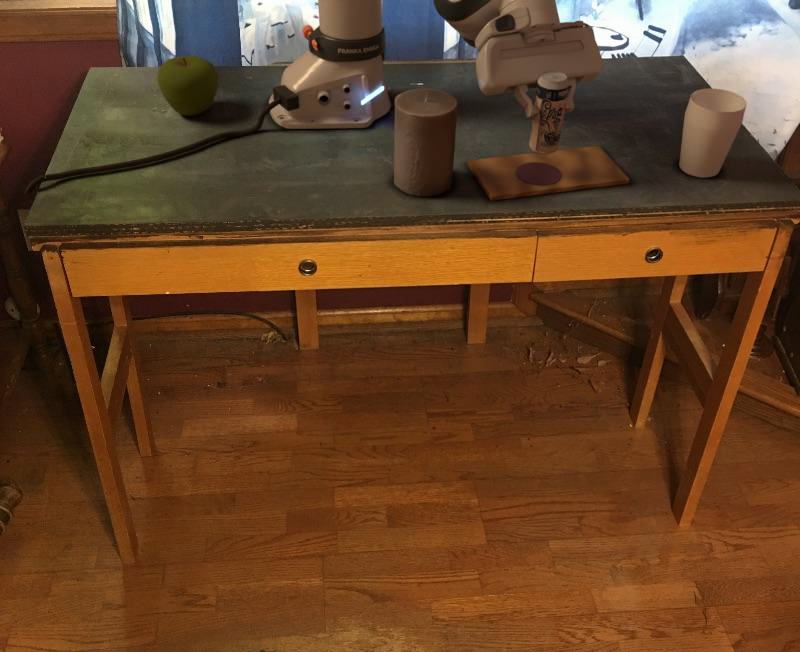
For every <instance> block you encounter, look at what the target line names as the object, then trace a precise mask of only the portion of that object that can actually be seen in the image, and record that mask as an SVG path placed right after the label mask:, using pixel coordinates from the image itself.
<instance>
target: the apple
mask: <svg viewBox="0 0 800 652" xmlns="http://www.w3.org/2000/svg"><path fill="white" fill-rule="evenodd" d="M218 81H219V74H218V72H217V70H216V68H215V66H214V63H211V62H210V61H208V60H207V59H205V58H203V57H200V56H197V55H182V56H180V55H179V56H175V57H171V58H169V59H167V60H166V61H164V62H163V63H162V64H161V65H160V67H159V68H158V72H157V84H158V86H159V89H160V91H161V94H162V96H163V97H164V99H165V100H166V102H167V103H168V105H169V106H170V108H171V109H173V110H174V111H175V112H177V113H179V114H181V115H183V116H188V117H189V116H197V115H200V114H202V113H204V112H205V111H207V110H208V109H209V108H210V107H212V106H213V103H214V100H215V98H216V94H217V91H218V86H219V85H218V84H219V82H218Z"/></svg>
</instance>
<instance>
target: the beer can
mask: <svg viewBox="0 0 800 652" xmlns="http://www.w3.org/2000/svg"><path fill="white" fill-rule="evenodd" d="M568 88H569V82H568V79H567V76H566V75H565V74H564V73H561V72H558V71H548V72H544V73H543V74H542V75H541V77H540V78H539V79H538V82H537V88H535V90H536V91H535V97H534V102H537V105H538V109H539V114H538V115H537V116H536V117H532V120H531V127H530V134H529V143H528V146H529V148H530V149H531V151H533V153H538V154H544V155H547V154H551V153H554V152H556V151H557V150H560V149H559V148H560V145H561V137H562V131H563V125H564V120H565V119H564V118H565V113H566V112H565V107H566V100H567V94H568Z"/></svg>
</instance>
